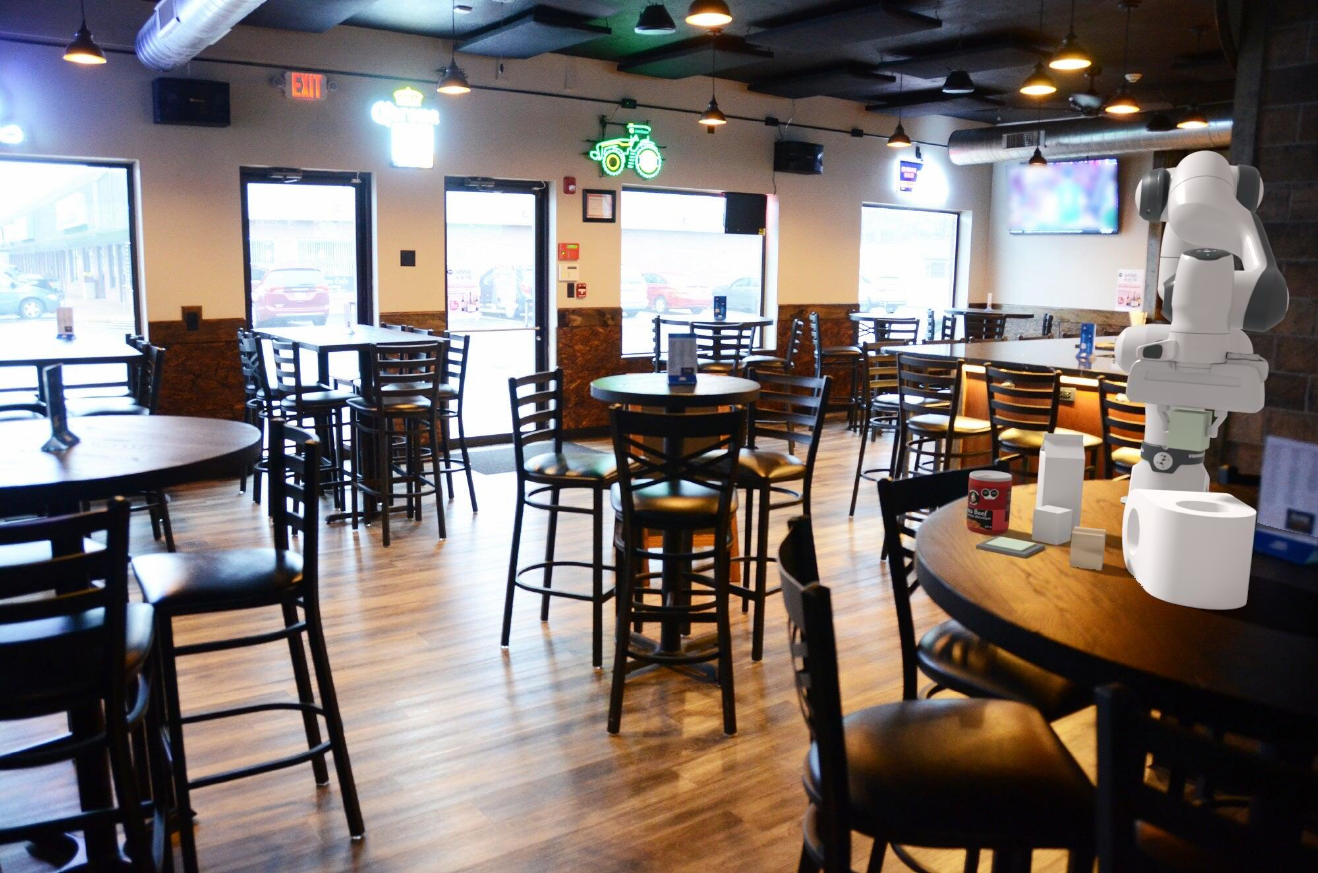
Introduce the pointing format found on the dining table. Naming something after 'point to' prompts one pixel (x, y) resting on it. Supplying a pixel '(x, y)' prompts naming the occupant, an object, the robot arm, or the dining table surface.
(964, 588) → the dining table surface
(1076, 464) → the milk carton
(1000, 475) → the canned food
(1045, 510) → the grey block
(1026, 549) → the swatch
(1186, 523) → the white cross-bored block
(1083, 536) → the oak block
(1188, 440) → the sage block
